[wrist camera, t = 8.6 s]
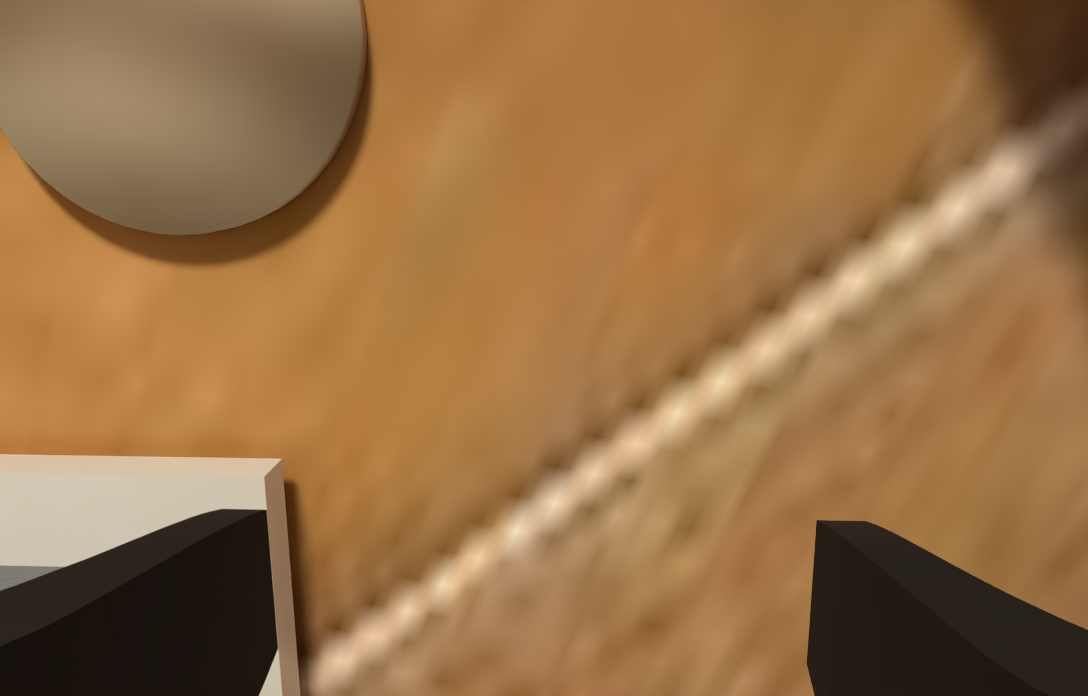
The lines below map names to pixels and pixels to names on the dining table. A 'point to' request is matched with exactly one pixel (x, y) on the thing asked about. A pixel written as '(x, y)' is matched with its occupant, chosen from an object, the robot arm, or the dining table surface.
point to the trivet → (142, 517)
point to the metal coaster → (180, 103)
